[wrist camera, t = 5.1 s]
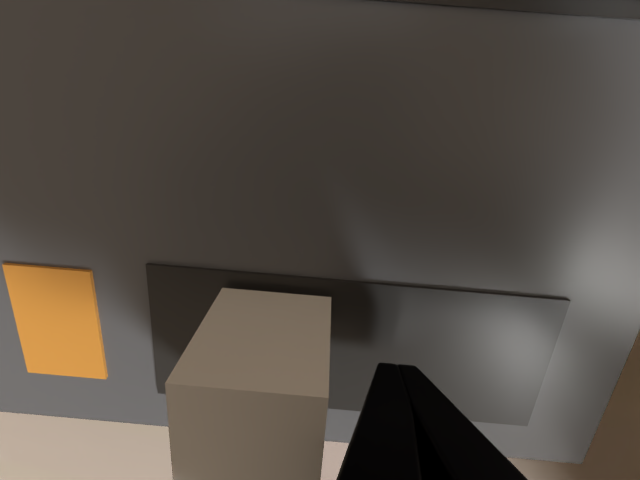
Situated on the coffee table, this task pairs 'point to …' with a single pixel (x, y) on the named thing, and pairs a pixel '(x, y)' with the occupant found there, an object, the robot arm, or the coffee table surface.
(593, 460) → the coffee table surface
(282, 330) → the tab
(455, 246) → the switch plate
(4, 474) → the coffee table surface
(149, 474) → the coffee table surface
